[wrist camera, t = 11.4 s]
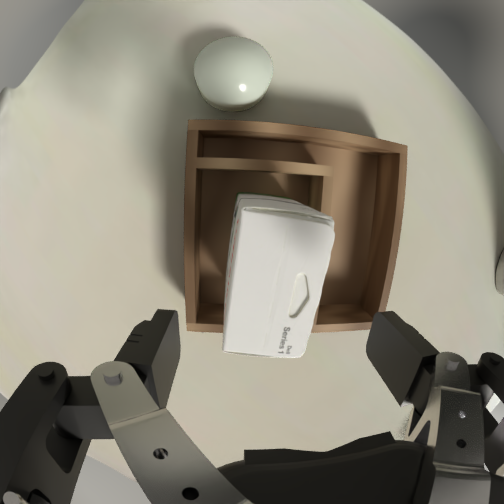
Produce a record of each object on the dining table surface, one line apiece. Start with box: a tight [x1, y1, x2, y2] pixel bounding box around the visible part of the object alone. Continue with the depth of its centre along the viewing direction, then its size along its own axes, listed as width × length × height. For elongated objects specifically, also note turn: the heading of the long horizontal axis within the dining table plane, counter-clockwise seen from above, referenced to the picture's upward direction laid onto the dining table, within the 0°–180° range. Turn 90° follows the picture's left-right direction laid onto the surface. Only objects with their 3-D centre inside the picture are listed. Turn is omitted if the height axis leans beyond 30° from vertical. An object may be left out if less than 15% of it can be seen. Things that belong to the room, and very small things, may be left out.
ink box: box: [223, 192, 335, 358], centre depth 20 cm, size 9×5×12 cm, turn 172°
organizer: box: [184, 120, 407, 333], centre depth 23 cm, size 18×17×4 cm
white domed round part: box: [194, 37, 273, 112], centre depth 20 cm, size 6×6×4 cm
